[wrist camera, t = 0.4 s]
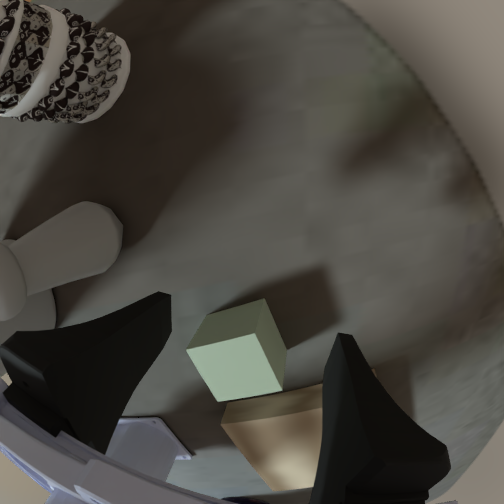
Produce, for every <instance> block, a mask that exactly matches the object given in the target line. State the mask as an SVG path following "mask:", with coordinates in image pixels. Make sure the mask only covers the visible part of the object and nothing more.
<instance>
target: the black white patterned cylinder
mask: <svg viewBox="0 0 504 504" xmlns="http://www.w3.org/2000/svg"><path fill="white" fill-rule="evenodd" d="M96 26H97V23H96V22H94V21H93V22H90V21H88V20H86V21H83V17H82V16H81V15H77V14H70V10H68V9H66V8H64V9H62V10H60V11H59V10H56V9H53V8H50V7H48V6H45V5H39V6H38V5H35V4H33V3H30V2H27V1H25V0H0V116H4V117H12V118H17V119H18V120H19V121H21V122H23V121H26V120H27V119H28V118H29V119H33V120H34V121H36V122H39V121H41V120H42V119H45V120H48V121H49V122H52V123H57V122H60V121H61V122H63V123H71V122H77V123H86V122H89V121H92V120H96V119H98V118H99V117H100V116H102V115H103V114H104V113H105V112H107V111H108V110H109V109H110V108H112V106H113V105H114V103H115V102H116V100H117V99H118V98H119V96H120V95H121V93H122V92H123V90H124V87H125V84H126V82H127V79H128V76H129V73H130V58H131V54H130V51H129V49H128V47H127V45H126V42H125V40H123V39H122V38H120V37H118V36H117V35H116V34H114V33H107V28H105V27H103V28H100V29H99V30H98V31H96Z"/></svg>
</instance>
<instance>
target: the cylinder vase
mask: <svg viewBox="0 0 504 504" xmlns="http://www.w3.org/2000/svg"><path fill="white" fill-rule="evenodd" d="M13 242H15V240H11V239H6V240H2V241H0V243H1V244H3V245H6V246H9V245H10V244H12V243H13ZM55 323H56V306H55V301H54V296H53V293H52V289H51V288H50V289H47V290H44V291H41V292H38V293H35V294H32V295H29V296H27V302H26V303H25V305H24V307H23V308H22V310H21V312H20V313H18V314H17V315H16V316H15V317H13V318H11V319H8V320H6V321H0V345H1V344H2V343H4V342H5V341H6V340H7V339H8V338H9V337H10V336H12V335H13V334H14V333H15V332H16V331H39V330H50V329H54V328H55ZM5 373H7V371H6V369H5V367H4V365H3V363H2V361H1V358H0V378H1V377H2V376H3V375H4V374H5Z"/></svg>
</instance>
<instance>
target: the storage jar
mask: <svg viewBox="0 0 504 504" xmlns="http://www.w3.org/2000/svg"><path fill="white" fill-rule="evenodd" d="M221 500H225V501H229V502H233V503H238V504H269V503H267V502H264V501H260V500H256V499H251V498H243V497H228V498H223V499H221Z"/></svg>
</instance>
